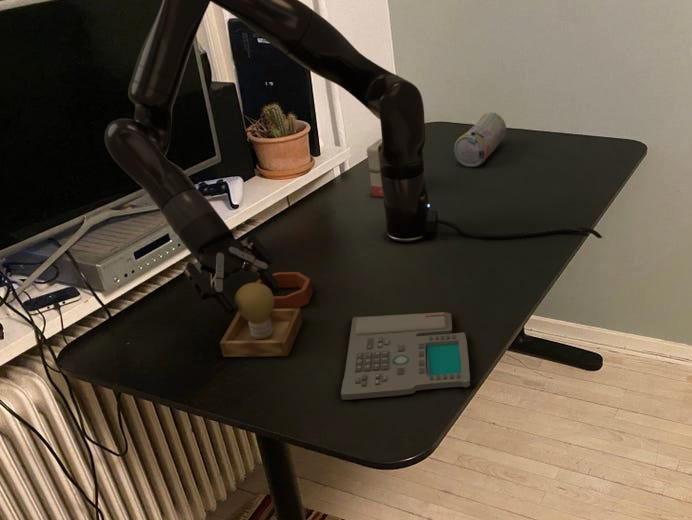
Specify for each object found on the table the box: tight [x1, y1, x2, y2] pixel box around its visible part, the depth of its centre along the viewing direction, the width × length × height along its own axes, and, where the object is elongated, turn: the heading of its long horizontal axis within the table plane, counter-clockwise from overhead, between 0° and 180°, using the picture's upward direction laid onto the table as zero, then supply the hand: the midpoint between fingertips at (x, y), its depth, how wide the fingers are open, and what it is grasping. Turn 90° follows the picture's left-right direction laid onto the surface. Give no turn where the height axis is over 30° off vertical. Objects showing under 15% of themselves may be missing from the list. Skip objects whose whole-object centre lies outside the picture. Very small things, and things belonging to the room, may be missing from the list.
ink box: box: [366, 138, 383, 198], centre depth 179 cm, size 9×5×12 cm, turn 161°
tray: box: [219, 307, 304, 358], centre depth 126 cm, size 11×11×3 cm
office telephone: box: [340, 311, 471, 401], centre depth 121 cm, size 23×3×20 cm
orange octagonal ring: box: [255, 271, 314, 309], centre depth 138 cm, size 10×10×3 cm
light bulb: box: [234, 282, 275, 339], centre depth 124 cm, size 6×6×10 cm
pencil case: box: [453, 112, 507, 168], centre depth 198 cm, size 21×9×10 cm, turn 160°
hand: (256, 301), depth 123 cm, fingers open, 8 cm apart
